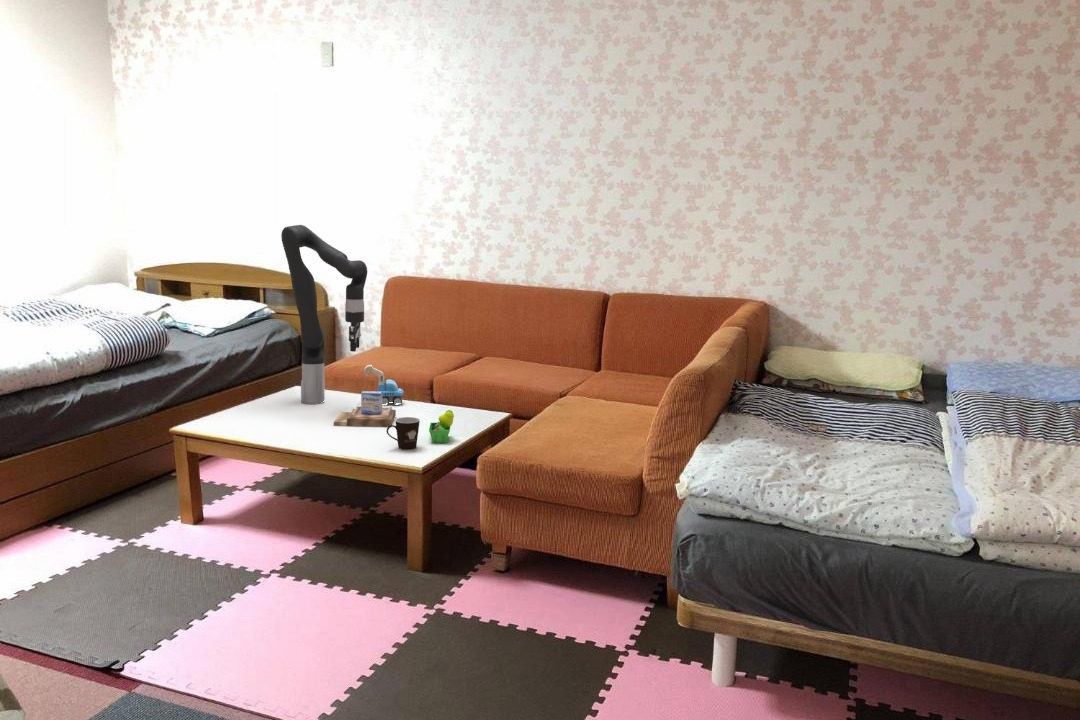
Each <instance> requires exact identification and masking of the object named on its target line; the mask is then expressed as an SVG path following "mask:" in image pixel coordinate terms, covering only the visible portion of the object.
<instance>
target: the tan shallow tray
mask: <svg viewBox="0 0 1080 720" xmlns="http://www.w3.org/2000/svg"><path fill="white" fill-rule="evenodd" d="M396 410H397V409H393V408H392V407H391V406H390V407H389V406H382V413H381V415H373V414H361V406H360V405H359V406H358V405H357V406H356V407H355V408H353V409H352V410H351V411H341V412H339V414H338V416H336V418H335V419H334V421H333V426H335V427H336V426H337V427H366V428H367V427H372V428H373V427H375V428H377V427H379V428H388V427H389V426H391V425H394V424H393V423H394V422H395V419H396V417H397V416H396V414H397V413H396V412H397V411H396ZM395 416H396V417H395ZM394 418H395V419H394Z"/></svg>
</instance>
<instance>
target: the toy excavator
mask: <svg viewBox="0 0 1080 720" xmlns="http://www.w3.org/2000/svg"><path fill="white" fill-rule="evenodd" d="M363 373H364V376H365V377H366V378H367V377H369V374H370V373H372V374H373V375H375V376H376V377H378V384H377V391H378V392H383V393H382V404H386V403H388V405H389V404H390V403H389V402H393V403H392V404H393V405H394V404H396V403H402V404H403V397H402V396H404V393H405V392H404V390H403V388H400V387H399V388H398V384H397V383H396V381H395V380H392V379H386V380H385V376H384V372H383V371H381V370H379V369H377V368H375V367H373V365H372V364H367V365H366V366H365V367H364V369H363Z"/></svg>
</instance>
